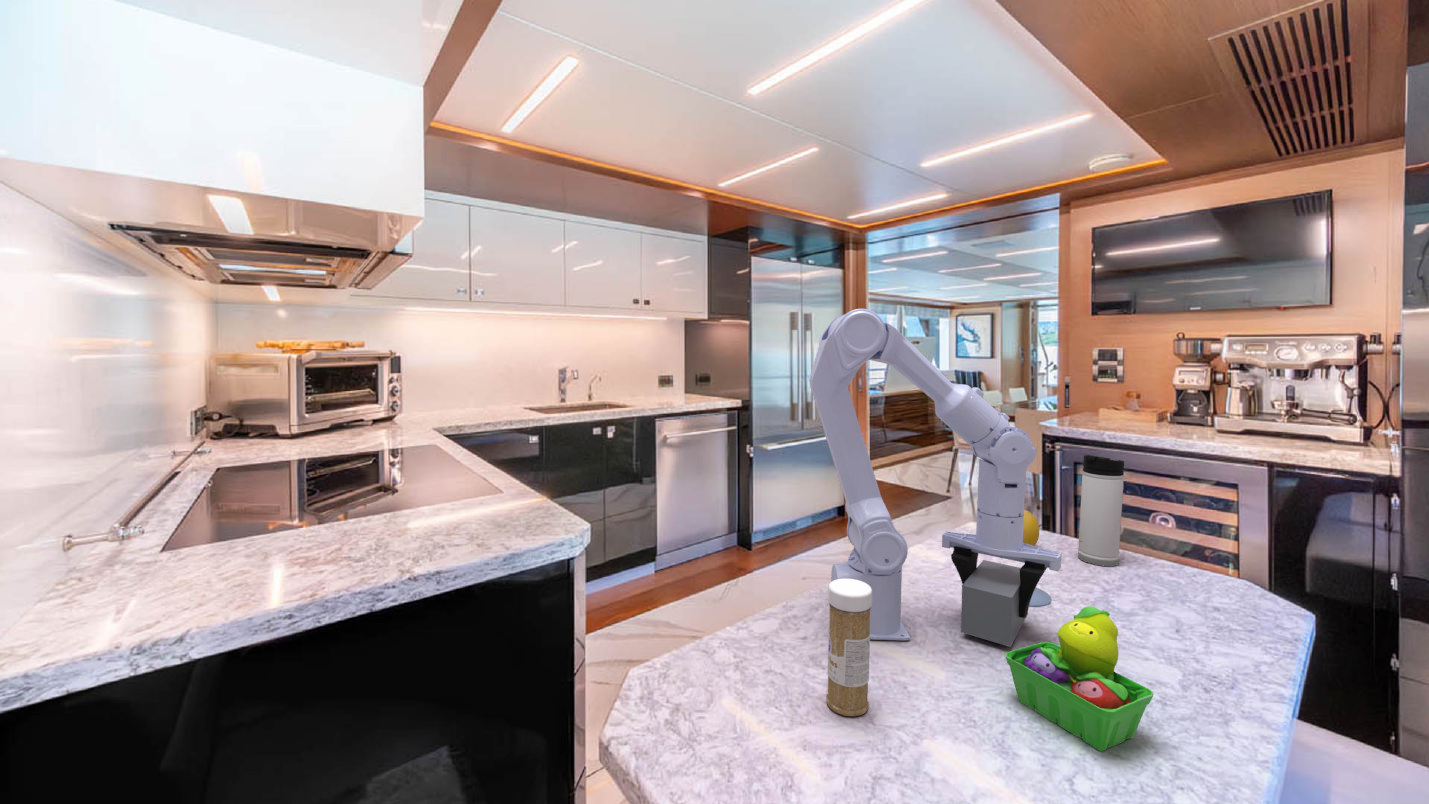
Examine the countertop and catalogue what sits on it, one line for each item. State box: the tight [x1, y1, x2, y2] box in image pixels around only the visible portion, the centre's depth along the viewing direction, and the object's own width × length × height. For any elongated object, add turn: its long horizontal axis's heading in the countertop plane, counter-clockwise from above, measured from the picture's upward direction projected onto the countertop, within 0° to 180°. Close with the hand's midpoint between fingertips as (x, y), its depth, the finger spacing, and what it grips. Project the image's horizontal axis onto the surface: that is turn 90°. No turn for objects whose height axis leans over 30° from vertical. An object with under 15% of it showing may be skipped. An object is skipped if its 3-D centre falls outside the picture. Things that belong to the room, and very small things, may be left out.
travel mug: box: [1077, 454, 1125, 567], centre depth 102 cm, size 6×7×20 cm
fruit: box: [1023, 509, 1040, 547], centre depth 109 cm, size 9×8×8 cm
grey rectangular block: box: [960, 559, 1029, 648], centre depth 76 cm, size 11×6×7 cm, turn 140°
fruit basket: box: [1004, 605, 1154, 752], centre depth 58 cm, size 11×9×11 cm
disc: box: [1029, 587, 1052, 607], centre depth 88 cm, size 9×9×1 cm
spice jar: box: [826, 579, 872, 717], centre depth 59 cm, size 5×5×14 cm
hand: (996, 608), depth 76 cm, fingers closed on grey rectangular block, 6 cm apart
